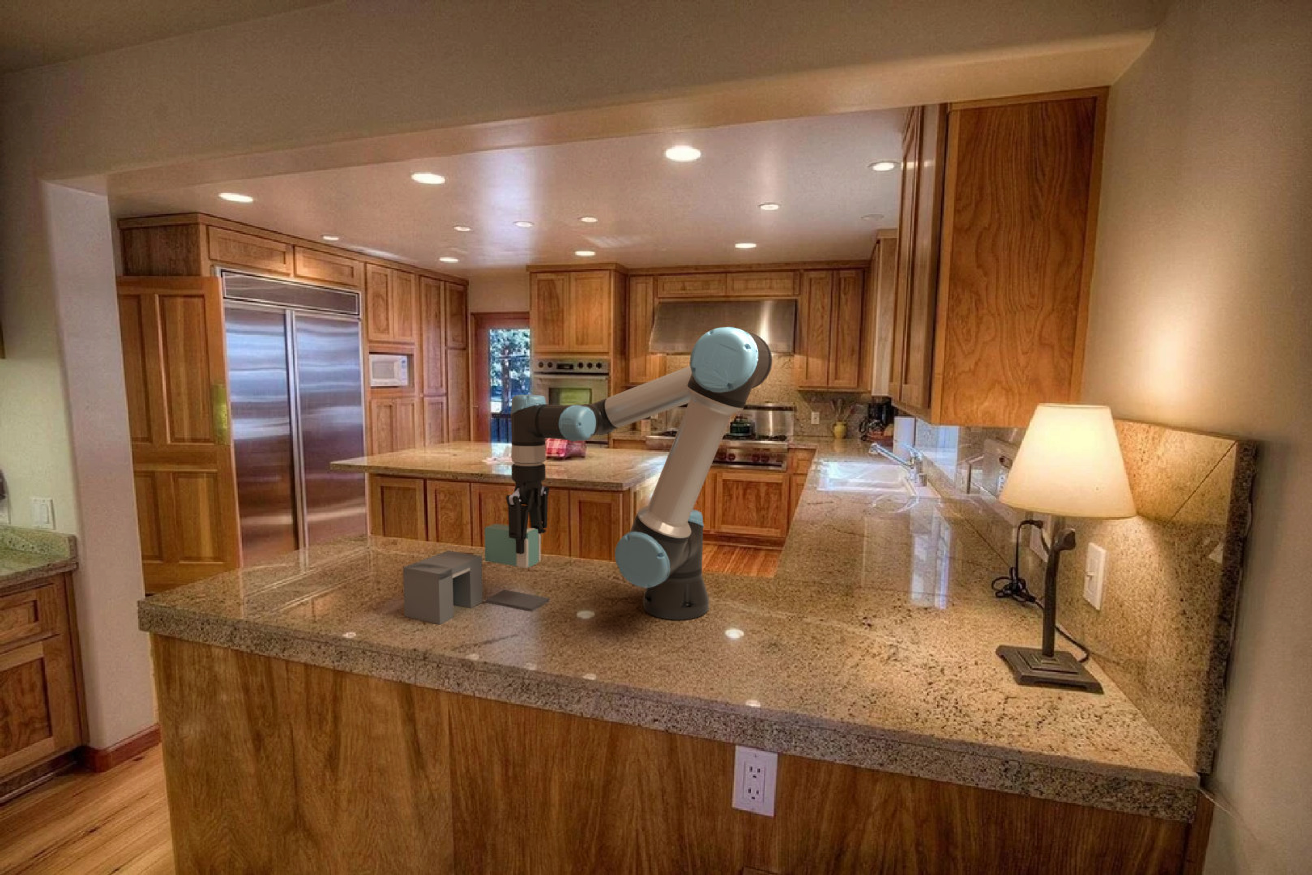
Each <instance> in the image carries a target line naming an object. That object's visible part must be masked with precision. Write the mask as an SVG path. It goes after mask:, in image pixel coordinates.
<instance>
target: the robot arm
mask: <svg viewBox="0 0 1312 875" xmlns="http://www.w3.org/2000/svg"><path fill="white" fill-rule="evenodd" d="M772 354H773V353H772V351H771V349H770V347H769V345H768V344H767V342H766V341H765V340H764V339H763V338H761V337H760V336H759V335H757V334H755V333H752V332H748V331H745V330H742V329H741V328H737V327H736V328H735V327H733V326H726V327H725V326H724V327H717V328H714V329H711V330H709V331H707V332H705V333H704V334H703V335H701V337H699V339H697V341H696V342H695V344H694V345H693V348H692V350H691V353H690V357H689V365H688V366H685V367H683V368H681V369H678V370H676V371H673V372H671V373H669V374H665V375H663V376H660V377H658V378H657V377H656V378H655V379H652V380H650V381H647V382H644V383H642V384H640V385H637V386H635V387H631V388H629V389H627V390H625V391H622V392H620V393H616V394H614V395H612V396H609V397H607V398H604V399H601V400H599V401H596V402H592V403H585V404H565V405H564V404H563V405H562V404H560V405H559V404H557V405H556V404H547V402H546V397H545V396H544V395H542V394H541V395H540V394H516V395H514V396H513V397H512V398H511V407H510V408H511V409H510V423H511V425H510V426H511V462H512V465H511V480H512V481H513V482H515V487H514V491H513V493H512V494H507V495H506V497H505V500H506V504H507V512H508V513H507V519H508V525H509V538H513V539H515V540H516V553H517V566H516V567H519V568H525V569H529V568H528V539H526V533H527V528H528V525H529V524H528V522H530V528H535V529H538V563H540V562H542V561H541V560H542V557H541V556H542V552H541V551H542V534H545V533H546V530H547V528H548V511H549V510H548V508H549V507H548V504H549V498H548V497H549V493H550V487H549V486H545V485H544V486H543V483H542V482H543V481H545V480H546V464H544V462H546V460H547V458H546V450H547V449H546V440H547V439H550V440H551V439H553V440H555V439H556V440H561V441H562V440H563V441H564V440H565V441H570V442H579V441H581V442H582V441H583V442H584V441H588V440H589V439H590V438H591V437H594V436H605V435H608V434H610V433H612V432H614V431H615V430H617V429H620V428H621V427H624V426H629V425H630V424H633V423H636V422H639V421H641V420H645V419H647V418H650V417H653V416H656V415H659V414H661V413H664V412H666V411H670V410H672V409H675V408H678V407H681V406H685V405H687V407H686V409H685V412H684V414H683V417H682V419H681V422H680V424H679V427H678V429H677V431H676V434H675V437H674V439H673V442H672V445H671V448H670V449H669V452H668V455H667V457H666V459H665V462H664V464H663V468H662V470H661V472H660V475H659V478H658V479H657V481H656V482H657V483H656V485H655V488H654V490H653V492H652V495H651V498H650V500H649V503H648V505H645V506H643V507H641V508H639V509H638V510H637V513H636V515H635V518H634V520H633V522H632V525H631V528H630V530H629V532H627V533H625V534H623V536H622V537H621V538H620V539H619V540H618V542H617V544H616V546H615V550H614V559H615V564H616V565H617V567H618V570H619V572H620V574H621V576H623V578H624V579H625V580H626V581H627V582H629V583H630V584H632V585H634V586H636V587H638V588H642V589H643V588H645V591H644V594H643V601H642V602H643V603H642V605H643V606H642V607H643V609H644V610H645V612H647V613H648V614H649V615H651V616H653V617H657V618H660V619H665V620H673V621H674V620H675V621H677V620H679V621H680V620H681V621H684V620H691V619H696V618H699V617H701V616H703V615H705V614H707V613H708V611H709V610H710V598H709V594H708V591H707V588H706V584H705V581H704V578H703V550H704V548H703V547H704V546H703V543H704V542H703V541H704V538H703V537H704V535H703V534H704V528H705V525H704V519H703V518H704V517H703V514H702V512H701V511H699V510H697V509H694V508H695V504H696V502H697V500H698V498H699V495H700V493H701V490H702V489H703V488H702V487H703V485H704V483H705V481H706V478H707V477H708V474H709V472H710V468H711V466H712V464H713V461H714V459H715V457H716V454H717V451H718V450H719V447H720V446H721V445H720V444H721V443H722V440H723V437H724V435H725V433H726V430H727V428H728V425H729V422H730V421H731V418H732V416H733V415H734V414H735V413H738V412H740V411H743V410H744V408H745V405H746V403H747V401H748V398H749V396H750V394H751V392H752V390H753V389H754V388H757V387H759V386H760V385H762V383H764V382H765V380H766V379H768V376H769V375H770V373H771V371H772V366H773V355H772Z"/></svg>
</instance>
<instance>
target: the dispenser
mask: <svg viewBox="0 0 1312 875" xmlns="http://www.w3.org/2000/svg"><path fill="white" fill-rule="evenodd" d="M466 553H467V552H459V551H453V550H446V551H443V552H441V553H438V554H435V555H432V556H429V557H427V558H425V559H421V560H419V561H416V562H414V563H411V564H409V565H405V566H403V567H402V574H403V575H402V576H403V577H402V578H403V580H402V581H403V605H404V606H403V607H404V608H403V609H404V613H403V614H404V617H405V618H411V619H416V620H420V621H424V622H427V623H432V624H436V625H441V624H443V623H446V622H447V621H450V620H451V619H453V618H454V606H459V607H463V608H464V607H465V608H467V609H472V608H474V607H476V606H478V605H480V604H482V603H484V601H483V600H484V598H483V597H484V596H483V590H484V589H483V556H482V555H477V554H474V555H472V554H473V553H470V554H466Z"/></svg>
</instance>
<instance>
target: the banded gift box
mask: <svg viewBox="0 0 1312 875" xmlns="http://www.w3.org/2000/svg"><path fill="white" fill-rule="evenodd" d="M526 539H528V568H527V569H529V568H531V567H533V566H535V565H537V564H538V563H539V562H538V529H535V528H531V527H527V533H526ZM484 561H485V562H489V563H494V564H501V565H507V566H508V565H509V566H514V567H518V566H517V553H516V540H515V539H513V538H509V524H502V523H501V524H500V523H494V524H491V525H488V526H485V527H484Z"/></svg>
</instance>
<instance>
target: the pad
mask: <svg viewBox="0 0 1312 875" xmlns="http://www.w3.org/2000/svg"><path fill="white" fill-rule="evenodd" d="M484 601H485V603H489V604H494V605H499V606H503V607H508V608H513V609H518V610H523V611H528V612H533V611H535V610H536V609H538V608H540V607H541V606H543V605H545V604H546V603H548V602H549V601H550V597H545V596H540V595H534V594H529V593H525V592H520V591H519V592H518V591H515V590H508V589H503V590H501V591H499V592H496V593H495V594H493V595H491V596H489V597H488V598H485V599H484Z"/></svg>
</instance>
